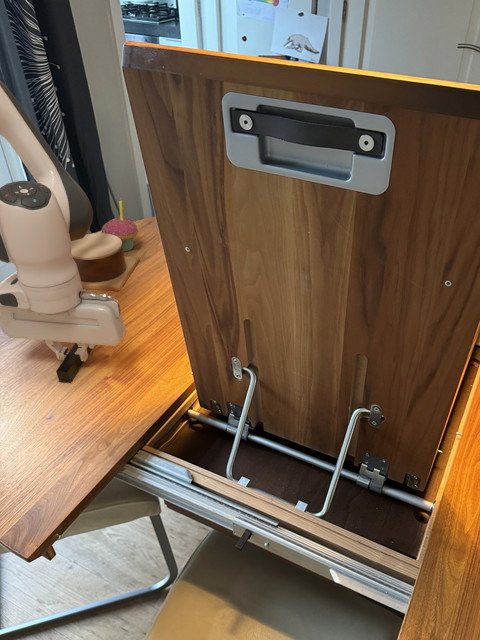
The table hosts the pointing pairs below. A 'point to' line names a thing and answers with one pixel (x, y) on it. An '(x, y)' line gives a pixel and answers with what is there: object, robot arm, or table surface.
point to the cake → (102, 261)
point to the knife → (71, 364)
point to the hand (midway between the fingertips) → (73, 358)
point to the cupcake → (122, 230)
